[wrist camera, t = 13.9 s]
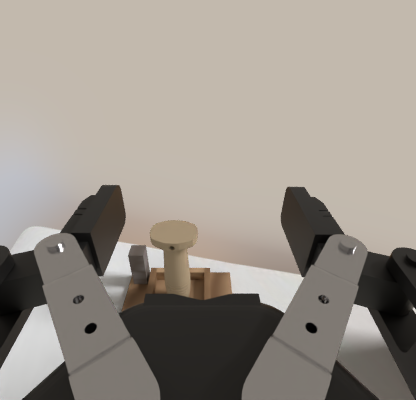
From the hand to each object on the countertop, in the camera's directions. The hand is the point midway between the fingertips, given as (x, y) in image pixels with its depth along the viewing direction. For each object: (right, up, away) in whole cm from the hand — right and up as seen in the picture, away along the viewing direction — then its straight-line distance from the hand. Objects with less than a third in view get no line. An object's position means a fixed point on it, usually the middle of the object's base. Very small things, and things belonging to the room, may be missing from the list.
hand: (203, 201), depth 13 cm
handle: (-5, -17, +31) cm, 36 cm away
